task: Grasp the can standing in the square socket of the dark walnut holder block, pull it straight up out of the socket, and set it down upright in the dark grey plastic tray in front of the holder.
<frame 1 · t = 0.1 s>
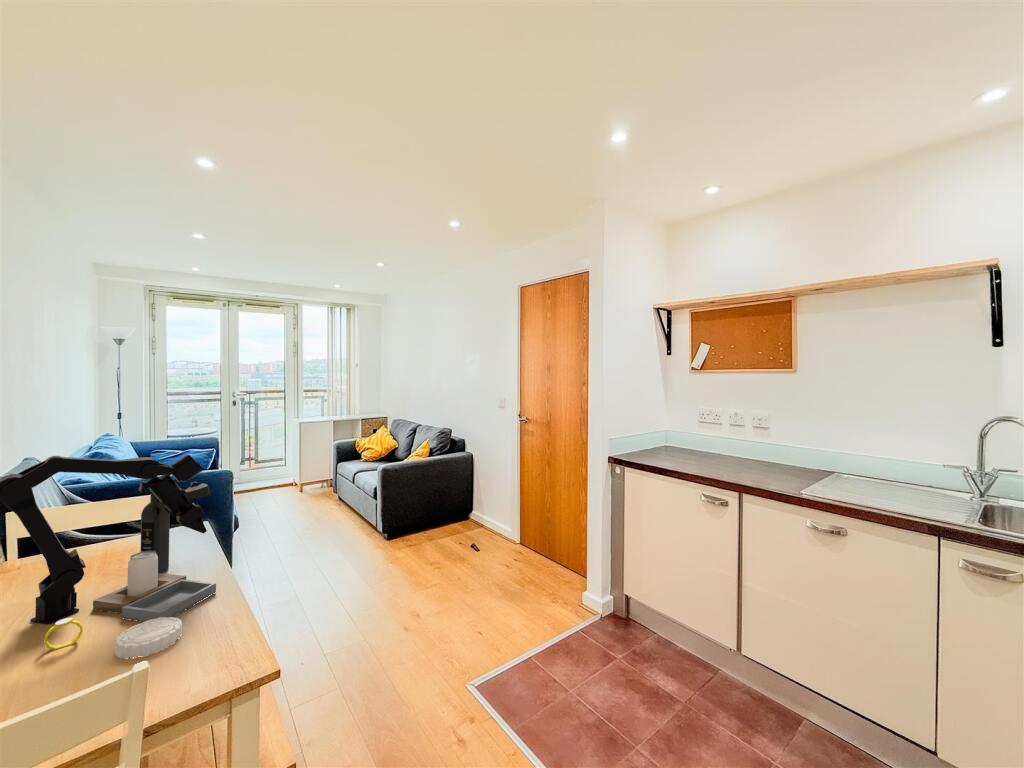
hand: (200, 528, 132), 15 cm above the table, tool tilted 30°, fingers open, 9 cm apart
wine bottle: (154, 572, 134), on the table
holder: (142, 596, 119), on the table
watch: (63, 646, 96), on the table
can: (142, 596, 119), resting in holder
tray: (171, 605, 114), on the table
mooncake: (149, 644, 98), on the table
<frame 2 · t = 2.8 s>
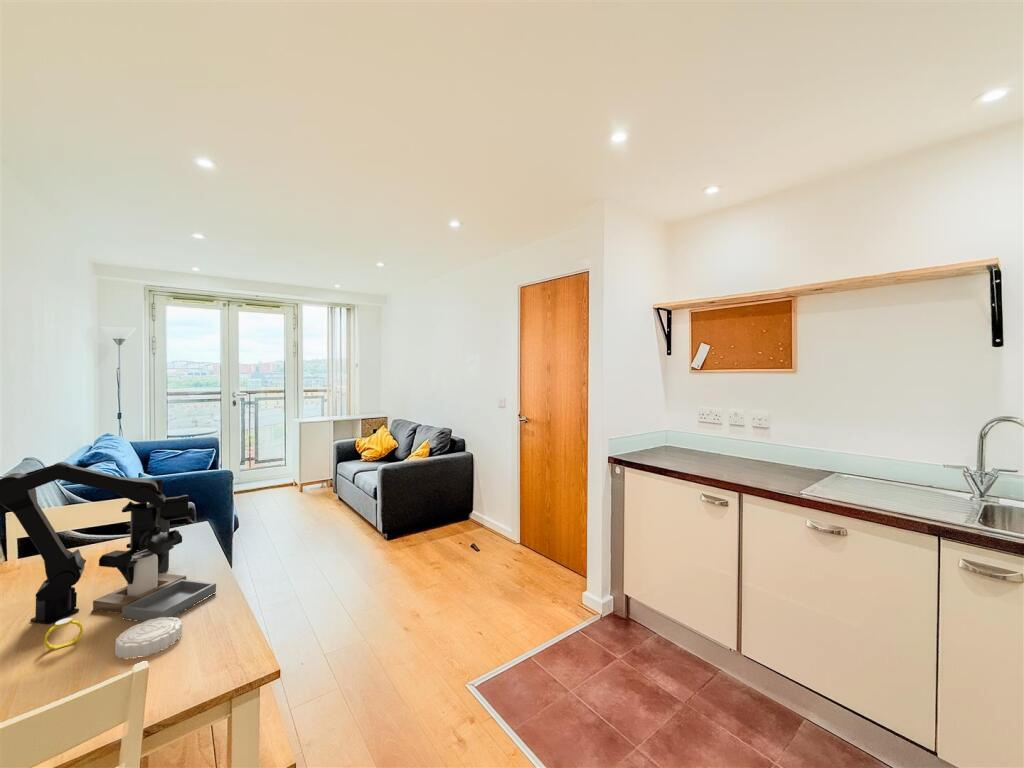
hand: (143, 578, 119), 5 cm above the table, tool pointing down, fingers closed on can, 6 cm apart
can: (142, 596, 119), resting in holder, touching gripper
everything else where it was.
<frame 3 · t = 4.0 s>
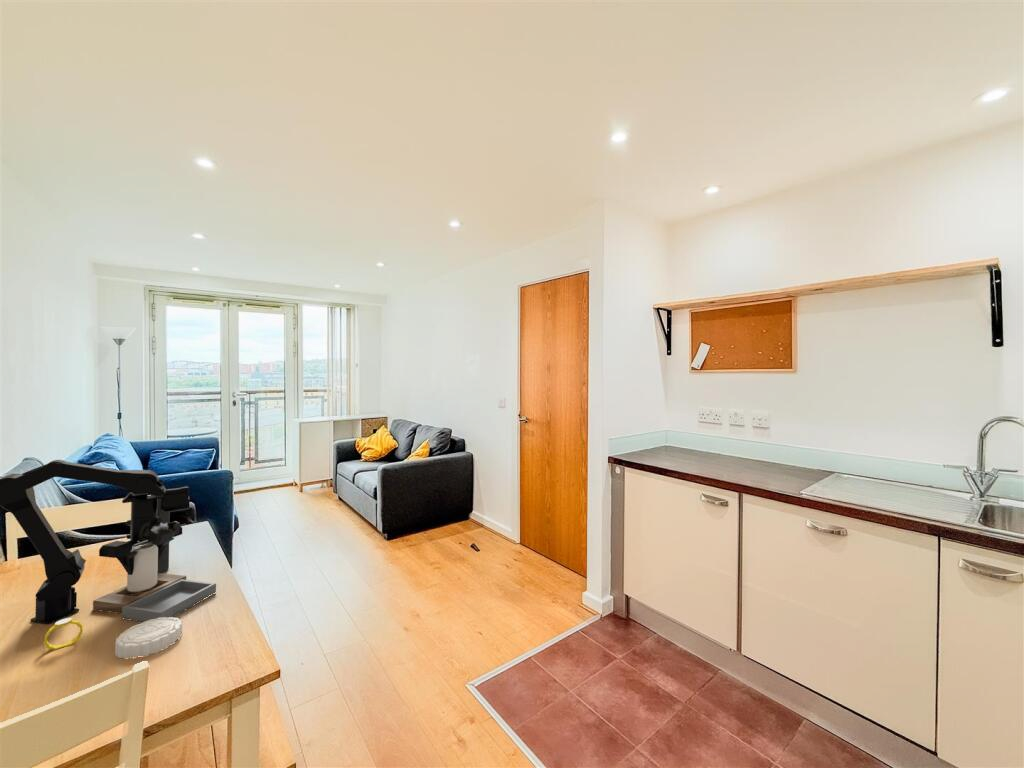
hand: (143, 569, 119), 8 cm above the table, tool pointing down, fingers closed on can, 6 cm apart
can: (142, 588, 119), point 2 cm above the table, touching gripper
everything else where it was.
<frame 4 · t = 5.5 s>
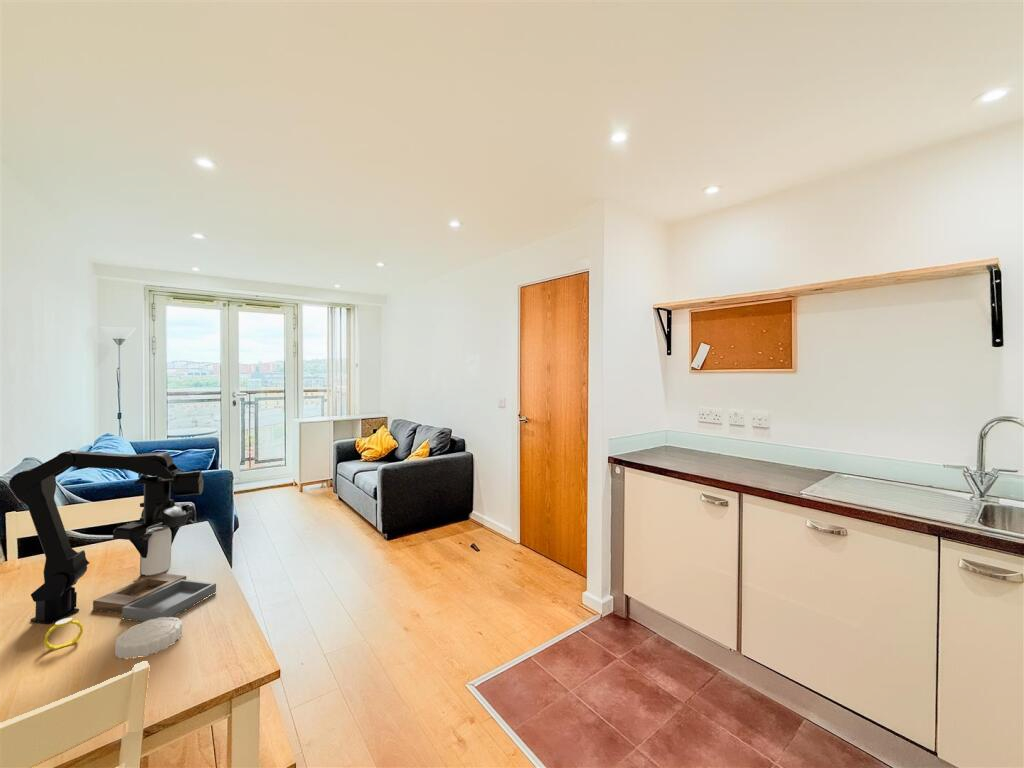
hand: (156, 553, 117), 13 cm above the table, tool pointing down, fingers closed on can, 6 cm apart
can: (156, 571, 117), point 8 cm above the table, touching gripper
everything else where it was.
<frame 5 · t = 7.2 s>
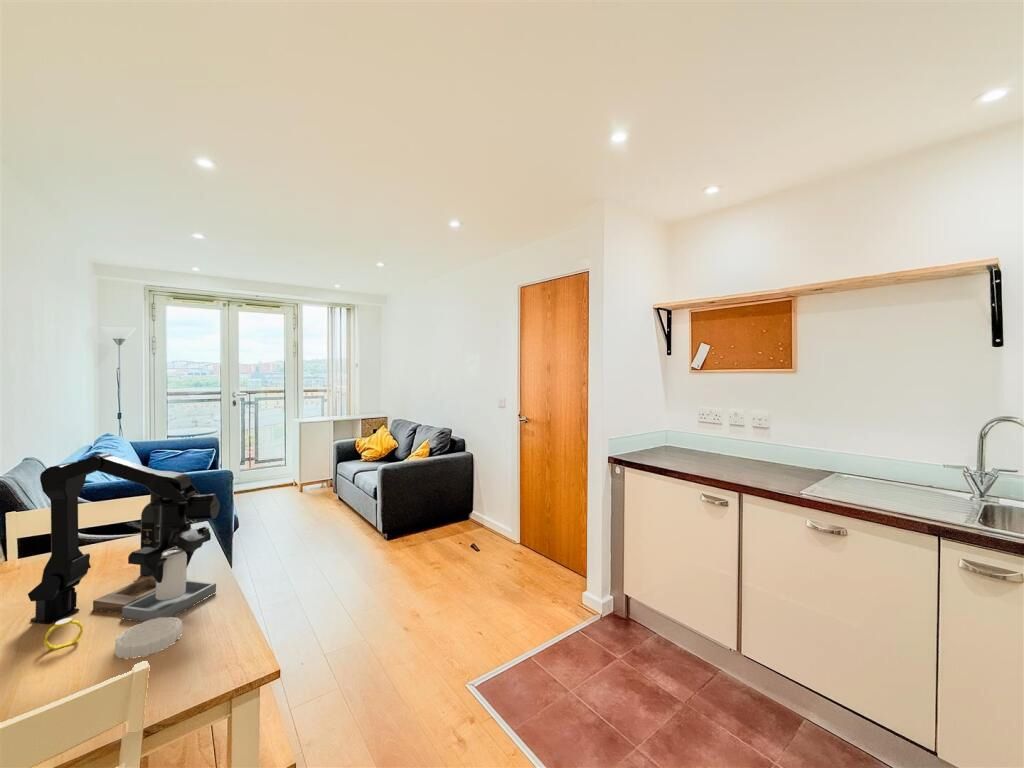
hand: (171, 576, 114), 8 cm above the table, tool pointing down, fingers closed on can, 6 cm apart
can: (170, 596, 114), point 3 cm above the table, touching gripper
everything else where it was.
when the fingers open (7 cm above the table, at t = 8.4 s): can drops 1 cm, resting on tray.
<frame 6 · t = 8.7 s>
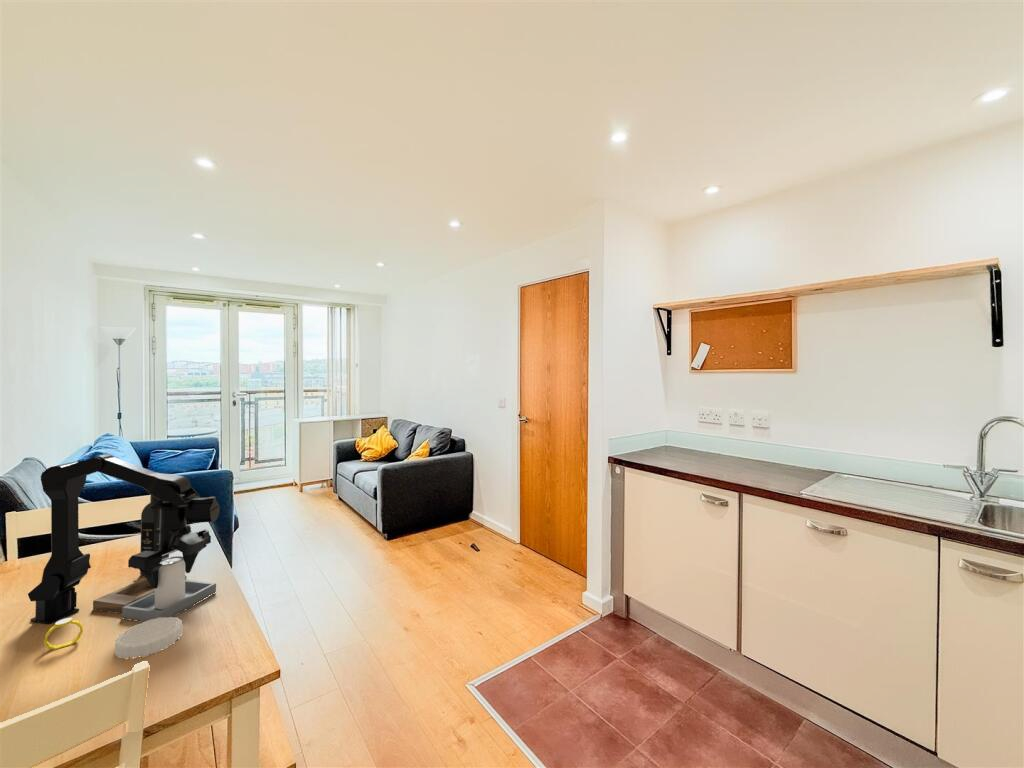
hand: (172, 580, 114), 7 cm above the table, tool pointing down, fingers open, 9 cm apart
can: (170, 604, 114), resting on tray
everything else where it was.
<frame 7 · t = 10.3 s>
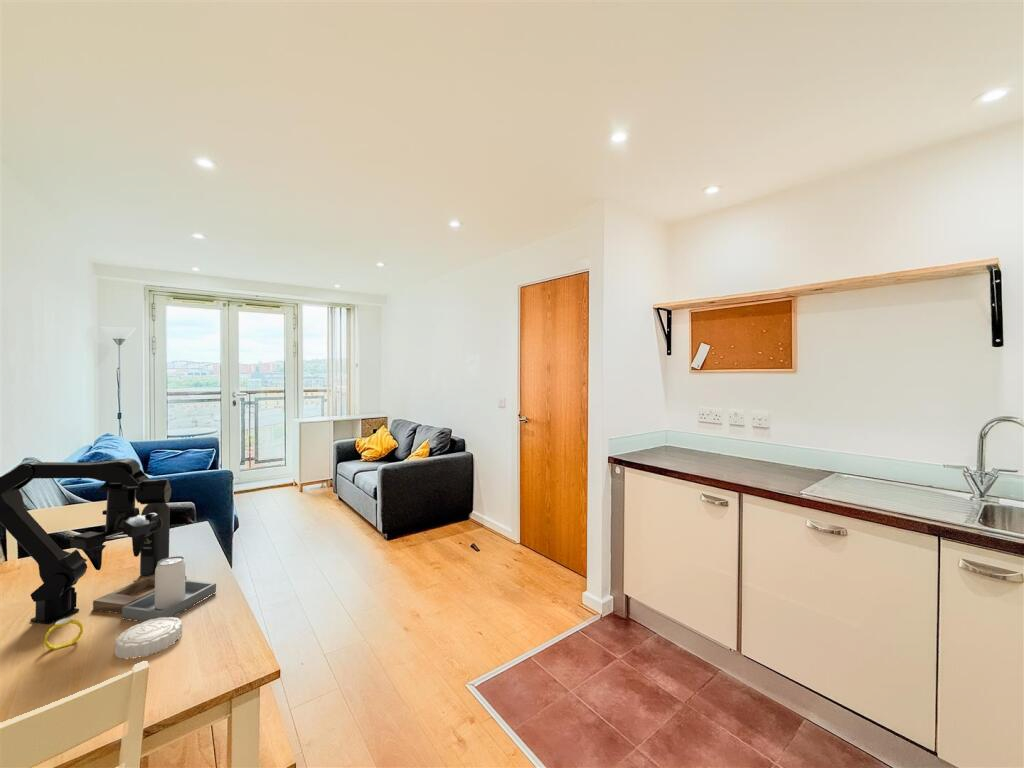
hand: (117, 562, 113), 12 cm above the table, tool pointing down, fingers open, 9 cm apart
nothing on the table moved.
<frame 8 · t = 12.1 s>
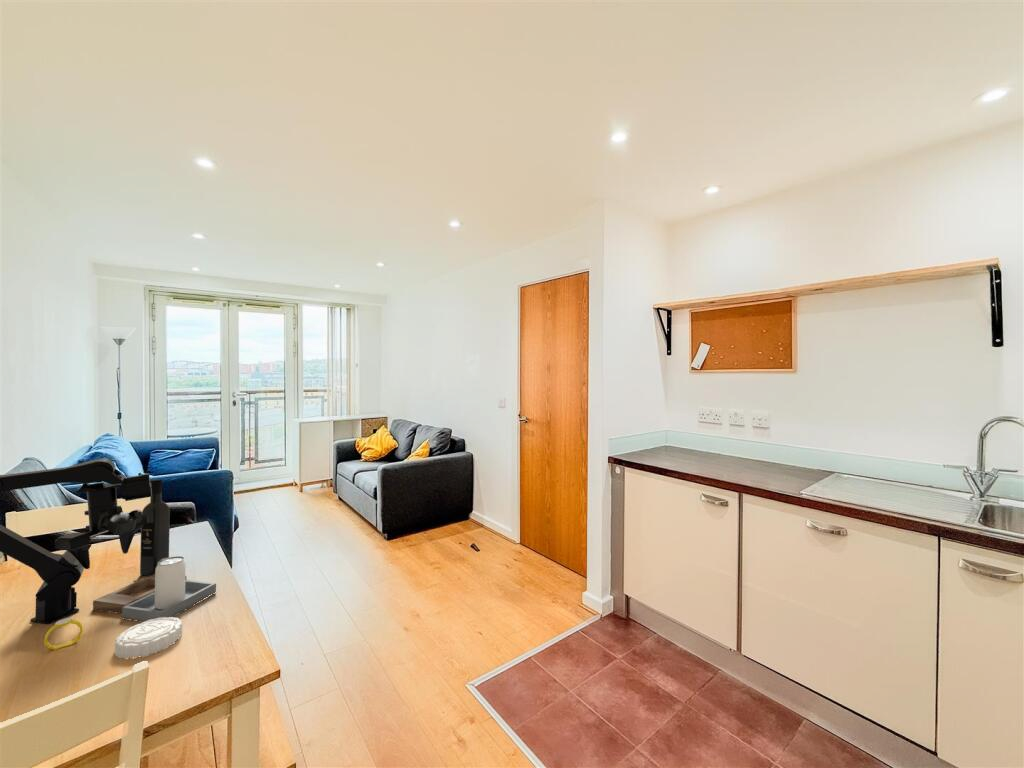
hand: (107, 560, 114), 12 cm above the table, tool pointing down, fingers open, 9 cm apart
nothing on the table moved.
at the end: can inside the target area on the tray (0.4 cm from its centre), point 0.4 cm above the tray's base; can tilted 0°; the gripper is holding nothing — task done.
